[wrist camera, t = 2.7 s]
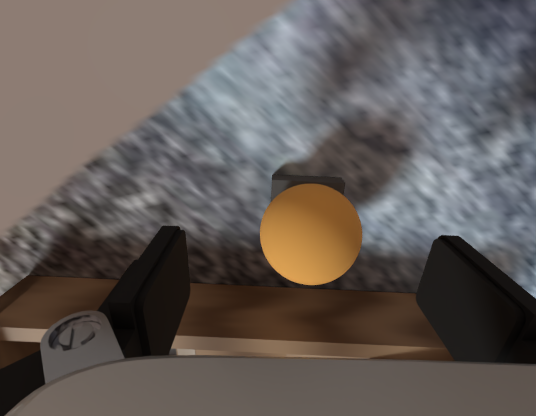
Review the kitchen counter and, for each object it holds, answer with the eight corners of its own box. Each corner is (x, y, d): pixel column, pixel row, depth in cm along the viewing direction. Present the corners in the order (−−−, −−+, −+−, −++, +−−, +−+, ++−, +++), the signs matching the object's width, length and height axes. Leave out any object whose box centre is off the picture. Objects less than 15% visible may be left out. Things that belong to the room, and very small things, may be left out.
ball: (354, 173, 16) (388, 209, 11) (341, 252, 18) (365, 310, 13) (263, 169, 16) (258, 203, 11) (260, 248, 18) (255, 305, 13)
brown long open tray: (429, 294, 20) (508, 399, 13) (397, 391, 24) (446, 510, 17) (27, 275, 20) (-98, 370, 13) (62, 375, 24) (-21, 487, 17)
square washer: (341, 177, 17) (345, 183, 16) (332, 238, 18) (335, 246, 17) (272, 174, 17) (272, 179, 16) (269, 235, 18) (268, 243, 17)
